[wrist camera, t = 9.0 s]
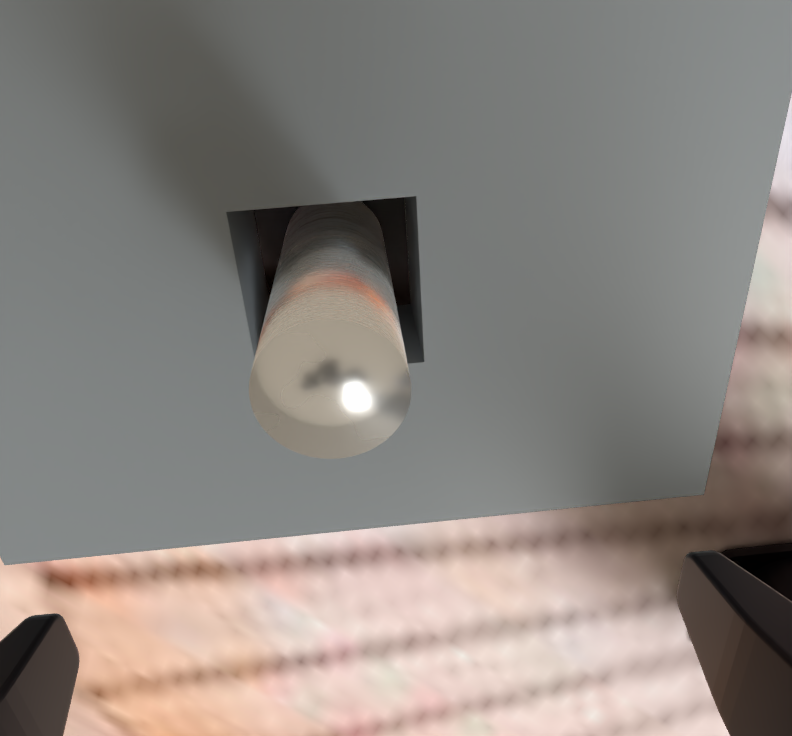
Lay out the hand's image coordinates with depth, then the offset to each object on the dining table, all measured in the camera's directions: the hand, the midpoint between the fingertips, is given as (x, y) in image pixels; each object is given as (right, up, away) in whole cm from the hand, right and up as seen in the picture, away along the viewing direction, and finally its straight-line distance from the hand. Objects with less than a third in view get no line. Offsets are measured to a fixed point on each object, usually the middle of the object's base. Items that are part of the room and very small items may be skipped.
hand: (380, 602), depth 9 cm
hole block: (-2, +7, +10) cm, 13 cm away
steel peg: (-2, +7, +10) cm, 13 cm away
